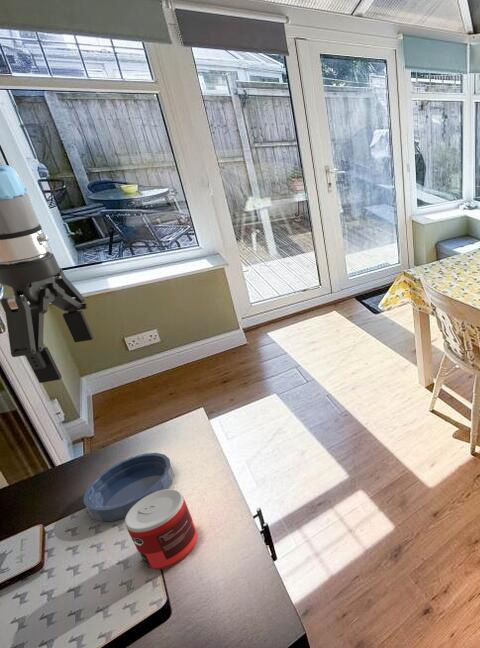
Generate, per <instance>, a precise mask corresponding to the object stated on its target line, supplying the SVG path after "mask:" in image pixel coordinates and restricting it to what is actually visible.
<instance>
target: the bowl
mask: <svg viewBox="0 0 480 648" xmlns="http://www.w3.org/2000/svg"><path fill="white" fill-rule="evenodd" d="M174 479H175V470H174V466H173V465H172V461H171V459H170V458H169V457H168V456H167V455H166V454H163V453H159V452H147V453H146V452H145V453H142V454H137V455H133V456H131V457H128V458H126V459H124V460H121V461H118V462H117V463H115V464H113V465H112V466H110V467H108V468H107V469H106V470H104V471H103V472H102V473H100V474H99V475H98V476H97V477H95V479H93V480H92V482H91V483H90V484H89V485H88V486H87V488H86V490H85V492H84V494H83V505H84V507H85V508H86V511H87V512H88V514H89V515H90V516H91V518H92V519H94V520H96V521H100V522H112V521H113V522H114V521H119V520H122V519H125V517H126V515H127V513H128V512H129V510H130V509H131V508H132V507H133V506H134V505H135V504H136V503H137V502H138V501H140V500H141V499H143V498H144V497H146V496H148V495H150V494H152V493H154V492H157V491H161V490H166V489H170V487H171V485H172V484H173V482H174Z"/></svg>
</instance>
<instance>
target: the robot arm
mask: <svg viewBox="0 0 480 648" xmlns="http://www.w3.org/2000/svg"><path fill="white" fill-rule="evenodd" d="M49 240H50V238H49V236H48V235H45V233H44V230H43V228H42V225H41V223H40V221H39V218H38V216H37V214H36V212H35V209H34V207H33V205H32V202H31V199H30V197H29V194H28V189H27V188H26V186H25V185H24V183H23V181H22V180H21V178H20V176H19V175H18V172H17V170H16V169H15V168H14V167H12V166H10V165H7V164H5V163H4V164H3V163H0V285H2V286H7V287H10V288H12V293H13V296H11V297H3V298H1V300H0V303H1V305H2V308H3V310H4V314H5V320H6V327H7V328H6V329H7V335H8V342H9V349H10V355H11V357H12V358H17V357H24V356H25V358H26V360H27V362H28V364H29V366H30V367H31V369H32V372H33V373H34V375H35V377H36V379H37V381H38V383H39V384H44V383H48V382H53V381H60V380H61V379H62V378H63V376H62V374H61V372H60V369H59V368H58V366H57V364H56V362H55V359H54V358H53V355H52V354H51V353H52V352H51V351H50V349H49V347H48V346H45V347H44V328H45V327H44V325H45V324H44V322H45V321H44V320H45V314H46V313H48V312H49V311H48V310H49V306H50V304H51V305H54V306H55V307H57V308H58V309H60V310H61V311H63V312H64V313H63V314H62V318H63V320H64V321H65V324H66V326H67V328H68V330H69V333H70V335H71V337H72V339H73V341H74V343H80V342H81V343H82V342H86V341H93V339H95V338H94V335H93V334H92V330H91V328H90V326H89V324H88V322H87V319H86V317H85V315H84V312H83V310H88V304H87V303H86V298H85V296H84V295H83V294H82V293H81V292H80V291H79V290H78V288H76V287H75V286H74V284H73V283H72V282H71V281H70V280H69V279H68V278H67V276H66V275H65V273H64V271H63V269H62V267H60V266H59V263H58V262H57V259H56V257H55V255H54V253H52V252H50V250H51V246H50V243H49Z"/></svg>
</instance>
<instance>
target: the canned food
mask: <svg viewBox="0 0 480 648" xmlns="http://www.w3.org/2000/svg"><path fill="white" fill-rule="evenodd" d="M124 525H125V529H126V530H127V532H128V534H129V536H130V538H131V540H132V543H133V544H134V546H135V548H136V550H137V552H138V553H139V555H140V558H141V560H142V561H143V563H144V565H146V566H147V568H149V569H151V570H164V569H165V570H166V569H168V568H170V567H173V566H174V565H176V564H179V563H180V562H181V561H183V560H184V559H185V558H186V557H188V556H189V555H190V554H191V552H193V550H194V548H195V547H196V544H197V542H198V535H199V534H198V533H199V532H198V530H197V528H196V525H195V522H194V520H193V518H192V515H191V513H190V510H189V508H188V505H187V503H186V500H185V498H184V495H183V494H182V493H181V492H180V491H179V490H177V489H174V488H168V489H166V490H161V491H157V492H154V493H152V494H150V495H148V496H146V497H144V498H143V499H141V500H140V501H138V502H137V503H136V504H135V505H134V506H133V507H132V508H131V509H130V510H129V512H128V513H127V515H126V517H125V518H124Z"/></svg>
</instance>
